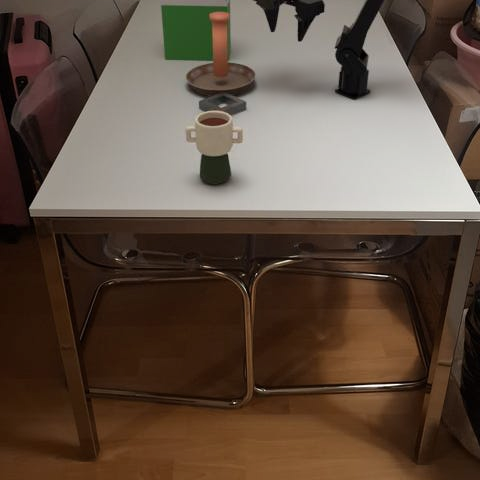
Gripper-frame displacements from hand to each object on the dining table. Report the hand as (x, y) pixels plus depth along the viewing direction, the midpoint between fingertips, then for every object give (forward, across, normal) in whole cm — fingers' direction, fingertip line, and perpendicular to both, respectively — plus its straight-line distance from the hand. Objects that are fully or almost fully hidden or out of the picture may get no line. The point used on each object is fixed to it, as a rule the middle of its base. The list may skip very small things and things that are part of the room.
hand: (286, 36), depth 157 cm
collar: (+13, -1, -20) cm, 24 cm away
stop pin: (+10, -12, -11) cm, 19 cm away
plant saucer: (+13, -12, -11) cm, 21 cm away
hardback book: (+13, -32, -2) cm, 35 cm away
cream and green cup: (+13, +22, -42) cm, 49 cm away
